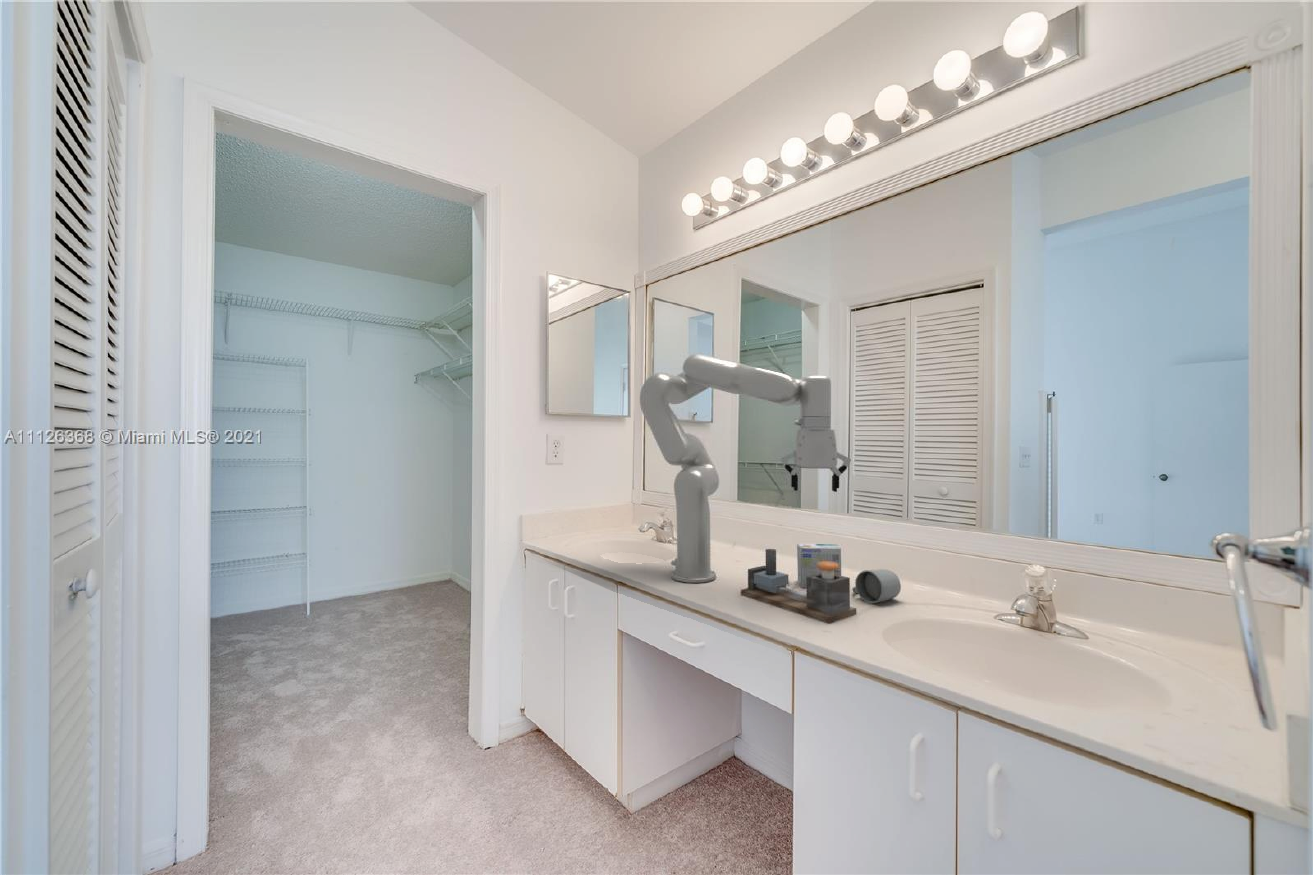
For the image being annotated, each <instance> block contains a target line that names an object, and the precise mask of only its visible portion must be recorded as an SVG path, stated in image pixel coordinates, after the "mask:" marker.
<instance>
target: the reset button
mask: <svg viewBox="0 0 1313 875" xmlns="http://www.w3.org/2000/svg"><path fill="white" fill-rule="evenodd" d="M817 565H818V569H821V570H822V579H826V580H834V570H838V564H837V563H835V562H828V561H822V562H818V563H817Z"/></svg>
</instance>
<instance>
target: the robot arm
mask: <svg viewBox="0 0 1313 875" xmlns="http://www.w3.org/2000/svg"><path fill="white" fill-rule="evenodd" d="M710 388H711V389H715V390H718V391H722V392H724V393H729V394H732V395H733V394H734V395H744V396H749V397H753V398H756V399H760V400H764V401H768V402H770V403H775V404H778V405H781V406H783V407H784V406H785V407H790V406H791V407H792V406H797V405H800V417H799V418H798V419H794V425H795V426H799V429H797V431H796V435H795V436H796V437H795V446H794V447H795V448H794V451H792V452H790V453H788V454H786V455H784V456H781V458H780V461H781V464H782V466H783V467H784V469H785V470H786V471H788V473H789V474H790V476H791V478H790V480H791V481H790V484H791V488H793V491H794V492H797V491H798V490H799V483H798V482H799V480H798V479H799V476H798V472H799V471H800V470H801V469H819V470H820V469H823V470H825V469H827V470H828V469H829V470H831V472H832V474H833V475H831V491H832V492H834V493H835V492H836V493H837V492H838V489H840V476H841V475H842V474H843V473H844V472H845V471H846V470H847V468H848V467H849V465H850V463H851V461H852V459H851V458H850V457H847V456H845V455H843V454H842V453H840V452H838V450H837V439H836V432H835V429H832V425H831V424H832V423H831V422H832V380H831V378H830V377H829V376H826V375H810V376H804V377H802V378H794V377H792V376H789V375H788V374H785V373H781V372H776V371H772V370H768V369H764V368H759V367H755V366H750V365H746V364H744V363H740V362H737V361H736V362H735V361H731V360H728V359H723V358H718V357H715V356H712V355H711V356H710V355H707V354H702V353H695V354H690V355H689V356H687V358H686V359H685V360H684V362H683V365H682V372H681V373H679V374H678V375H673V374H668V373H666V372H657V373H654V374H651V375H650V376H648V378H646V380H645V381H644V382H643V384H642V387H641V389H640V392H639V393H640V394H639V405H640V408H641V413H642V415H643V417H644V418H645V421H646V423H647V425H648V427H649V428H650V431H651V433H652V435H653V438H654V440H655V442H656V444H657V446H658V448H659V450H660V453H661V454H662V457H663V458H664V461H666V462H667V463H668V464H669V465H671V466H677V467H679V466H680V468H681V470H680V471H679V472H678V473H677V475H676V476H675V479H674V483H673V490H674V498H675V504H676V505H675V506H676V558H674V559H673V560H671V562H670V564H671V565H672V566H675V567H674V568H675V569H674V570H673V571H672V572H671V578H672V579H673V580H675V581H678V582H680V583H681V582H683V583H691V584H696V583H697V584H698V583H701V584H702V583H708V582H713V581H714V580H716V578H717V573H716V572H715V571H713V570H712V569H711V568H712V567H711V509H710V503H709V498H708V497H710V496H711V495H713V494H714V493H716V492H717V490H718V488H719V484H720V476H719V473H718V471H717V469H716V467H715V464H714V463H713V460H711V457H710V455H709V453H708V452H707V449H706V447H705V446H704V444H703V442H702V441H701V440H700V439H699V438H698V437H697V436H696V435H694V434H691V433H687V432H685V430H684V429H683V427H682V425H681V423H680V420H679V419H678V417H677V415H676V414H675V412H674V411H673V410H672V408H671V407H670V405H678V404H682V403H685V402H686V401H689V400H690V399H692V398H693V397H696V396H697V395H699V394H700V393H702V392H705V391H707V390H708V389H710ZM792 458H794V464H795V465H794V466H793V467H792V466H790V464H789V463H788V461H789V460H791V459H792ZM838 459H839V460H840V461H842V463H841V464H842V465H841V466H839V467H837V466H838Z"/></svg>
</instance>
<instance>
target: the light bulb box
mask: <svg viewBox="0 0 1313 875" xmlns="http://www.w3.org/2000/svg"><path fill="white" fill-rule="evenodd" d="M796 551H797V552H796V556H797V560H796V561H797V583H798V582H799V583H798V584H799V586H800V588H806V576H810V575H814V574H818V573H822V570H821V569H818V565H817V563H818V562H822V561H828V562H835V563H837V564H838V570H834V574H836V575H840V576H842V547H840V546H839V545H838V544H836V543H834V542H833V543H832V542H831V543H826V542H824V543H821V542H820V543H817V542H815V543H813V542H811V543H810V542H809V543H807V542H806V543H805V542H804V543H803V542H802V543H801V542H797V543H796Z"/></svg>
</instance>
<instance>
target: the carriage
mask: <svg viewBox="0 0 1313 875" xmlns="http://www.w3.org/2000/svg"><path fill="white" fill-rule="evenodd" d="M765 566H766V571H762V572H758V573H754V583H755V584H756V587H757V588H760V589H764V590H767V591H770V592H773V593H776V592H777V587H780V586H781V587H784V588H787V585H789V574H787V573H784V572H779V571H777V549H775V548H766V549H765Z"/></svg>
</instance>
